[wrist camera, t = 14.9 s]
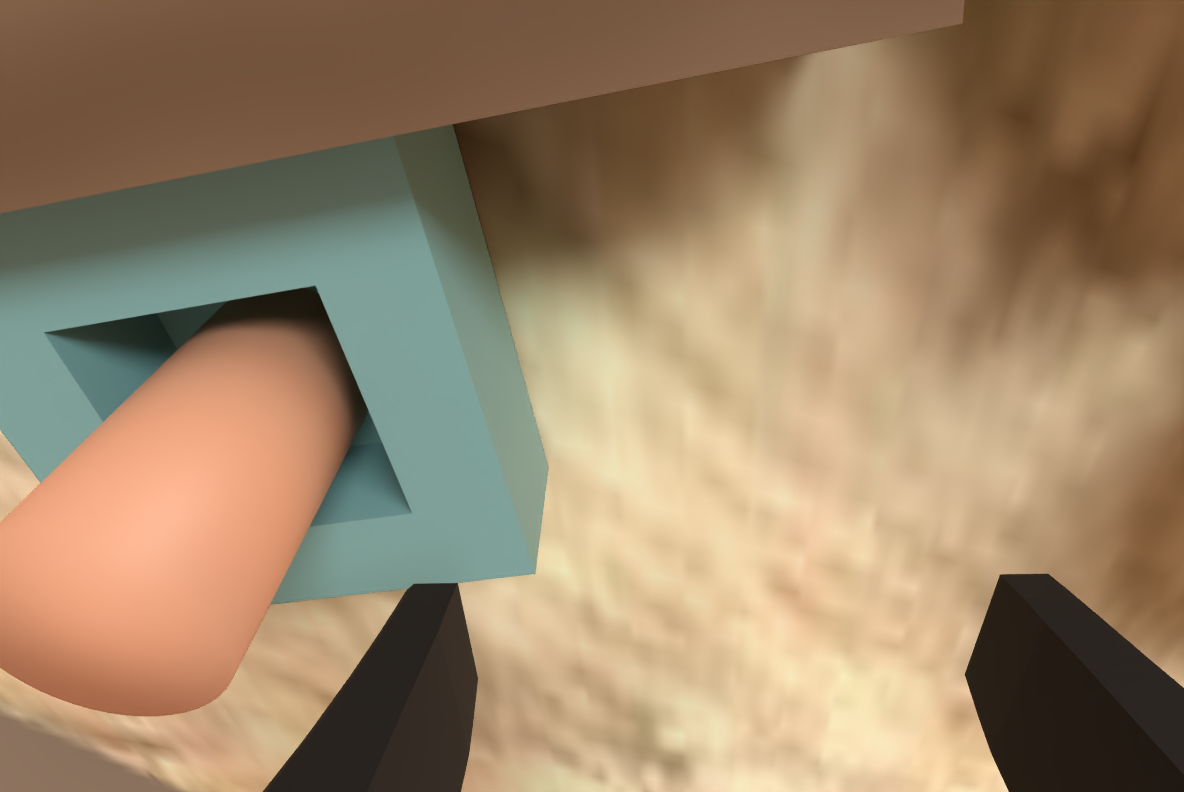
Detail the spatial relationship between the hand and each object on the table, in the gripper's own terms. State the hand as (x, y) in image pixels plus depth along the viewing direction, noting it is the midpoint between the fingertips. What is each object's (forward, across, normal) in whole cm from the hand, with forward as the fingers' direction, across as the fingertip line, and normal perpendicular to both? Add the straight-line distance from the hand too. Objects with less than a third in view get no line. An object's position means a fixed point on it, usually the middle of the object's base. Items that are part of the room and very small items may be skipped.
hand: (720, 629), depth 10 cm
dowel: (+8, +9, 0) cm, 12 cm away
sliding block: (+9, +9, 0) cm, 13 cm away
